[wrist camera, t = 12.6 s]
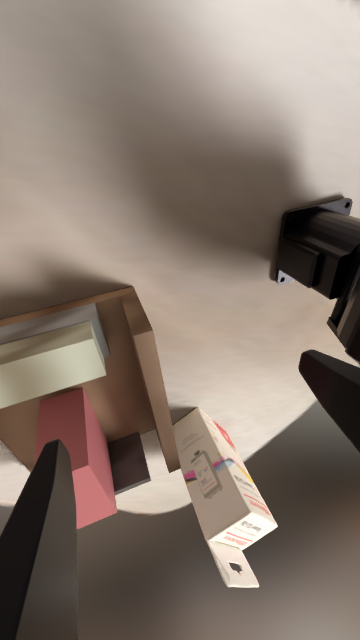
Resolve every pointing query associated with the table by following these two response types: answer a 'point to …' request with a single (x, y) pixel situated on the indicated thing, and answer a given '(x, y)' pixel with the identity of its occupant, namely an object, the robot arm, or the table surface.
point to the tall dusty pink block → (80, 452)
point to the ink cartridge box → (221, 495)
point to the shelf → (99, 391)
